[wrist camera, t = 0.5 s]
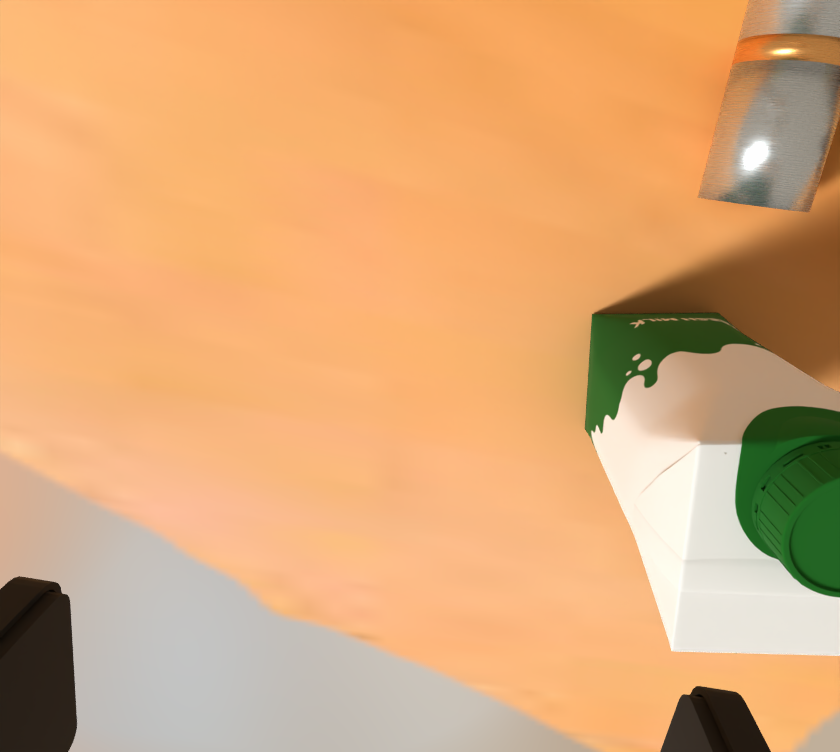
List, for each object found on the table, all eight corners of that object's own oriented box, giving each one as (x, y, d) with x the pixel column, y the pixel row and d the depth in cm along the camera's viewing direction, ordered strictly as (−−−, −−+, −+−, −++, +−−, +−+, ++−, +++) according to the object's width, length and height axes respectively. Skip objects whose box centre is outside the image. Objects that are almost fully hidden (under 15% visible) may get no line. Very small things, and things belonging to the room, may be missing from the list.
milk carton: (736, 295, 35) (1059, 459, 16) (716, 444, 38) (968, 731, 19) (575, 297, 35) (703, 458, 17) (567, 444, 38) (667, 721, 20)
